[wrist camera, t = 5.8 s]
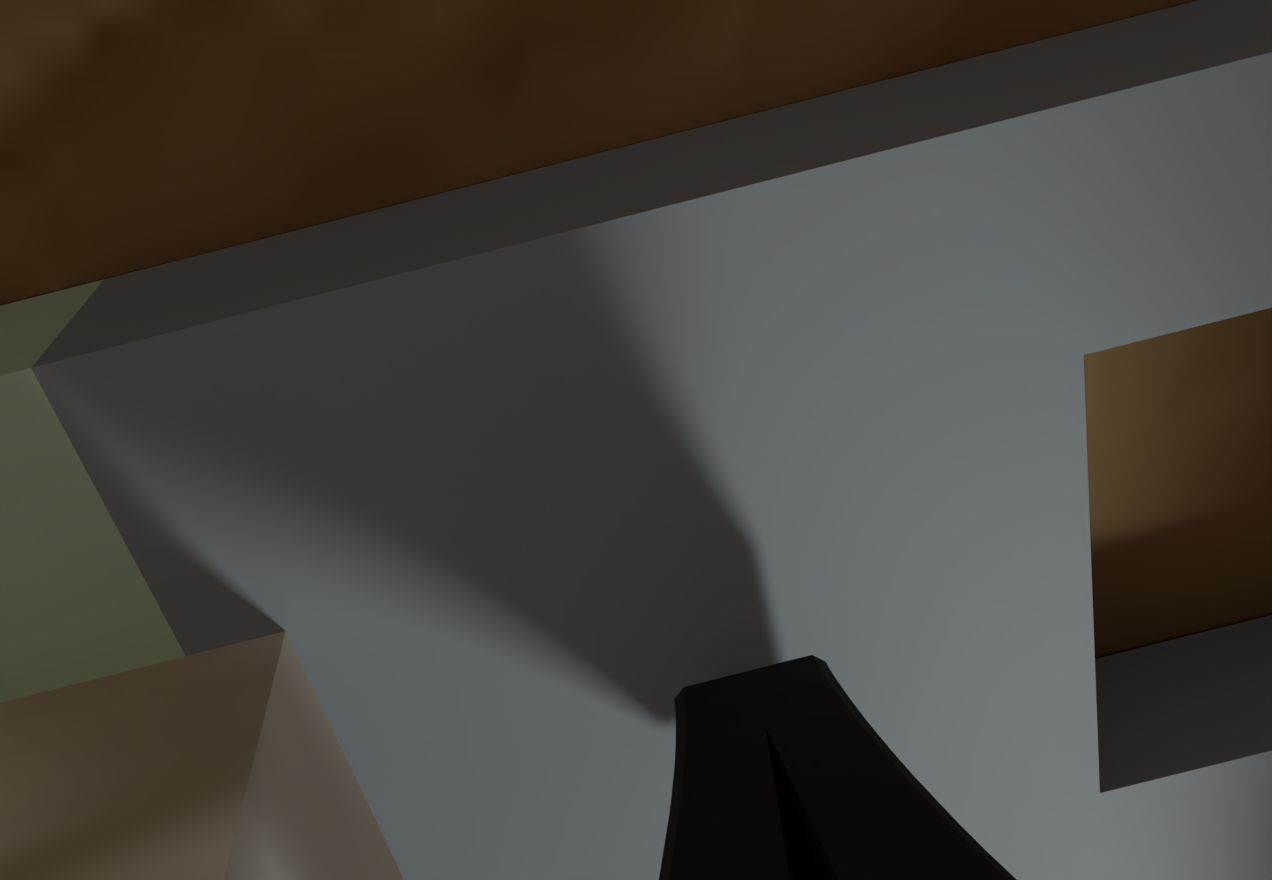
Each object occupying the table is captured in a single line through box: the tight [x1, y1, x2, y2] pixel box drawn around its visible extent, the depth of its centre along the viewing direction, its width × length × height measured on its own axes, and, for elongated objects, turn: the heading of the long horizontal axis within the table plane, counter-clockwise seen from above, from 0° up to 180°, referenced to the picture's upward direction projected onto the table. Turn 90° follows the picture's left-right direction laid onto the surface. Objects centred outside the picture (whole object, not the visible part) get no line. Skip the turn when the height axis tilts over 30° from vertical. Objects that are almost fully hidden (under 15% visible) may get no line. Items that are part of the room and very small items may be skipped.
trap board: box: [0, 0, 1272, 880], centre depth 13 cm, size 20×15×4 cm
